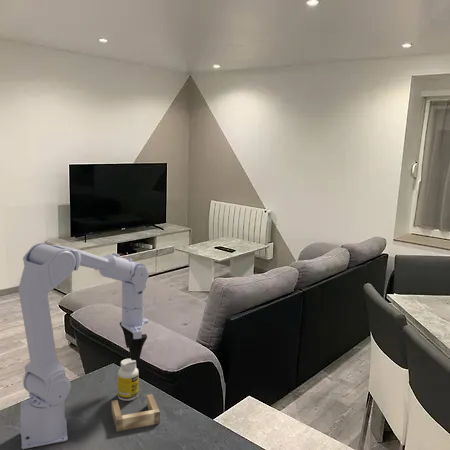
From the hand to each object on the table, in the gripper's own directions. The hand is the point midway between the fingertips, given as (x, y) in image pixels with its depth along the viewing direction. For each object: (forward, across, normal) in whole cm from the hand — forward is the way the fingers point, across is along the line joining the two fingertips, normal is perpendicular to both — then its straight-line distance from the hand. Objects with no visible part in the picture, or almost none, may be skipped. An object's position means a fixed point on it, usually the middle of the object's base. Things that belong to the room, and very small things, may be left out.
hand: (132, 353), depth 123 cm
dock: (+10, -13, +2) cm, 17 cm away
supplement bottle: (+11, -4, +2) cm, 11 cm away
